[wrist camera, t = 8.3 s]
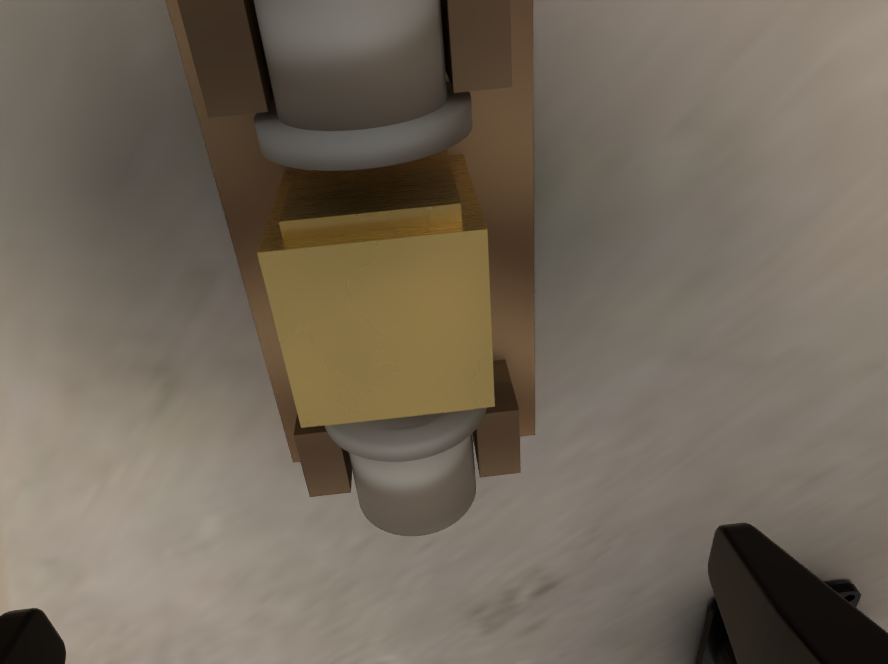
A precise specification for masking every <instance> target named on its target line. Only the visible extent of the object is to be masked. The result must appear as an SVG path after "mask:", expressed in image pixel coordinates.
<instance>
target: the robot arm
mask: <svg viewBox="0 0 888 664" xmlns="http://www.w3.org/2000/svg"><path fill="white" fill-rule="evenodd" d="M708 574H709V579H710V582H711V586H712V589H713V592H714V595H715V598H716V601H714V602H713V603H711V605H710V607H709V610H708V615H707V619H706V624H705V628H704V633H703V637H702V641H701V646H700V650H699V655H698V659H697V663H696V664H888V633H887V632H886V631H885V630H883V629H882V628H881V627H880V626H878V625H877V624H876V623H875V622H873V621H872V620H871V619H869V618H868V617H867V616H866V615H864V614H863V613H862V612H861V611H859V610H858V609H857V608H856V606H857V604H858V602H859V599H860V597H861V594H860V593H859V591H858V590H857V588H856V587H855V585H854V584H851V583H845V584H837V585H829V586H828V585H827V584H825V583H824V582H823V581H822V580H820V579H819V578H818V577H817V576H815V575H814V574H813V573H812V572H810V571H809V570H808V569H807V568H805V567H804V566H803V565H802V564H800V563H799V562H798V561H797V560H795V559H794V558H793V557H792V556H790V555H789V554H788V553H786V552H785V551H784V550H783V549H781V548H780V547H779V546H778V545H776V544H775V543H774V542H773V541H771V540H770V539H769V538H768V537H766V536H765V535H764V534H763V533H761V532H760V531H759V530H758V529H756V528H755V527H754V526H752V525H750V524H747V523H737V524H728V525H721V526H719V527H718V528H717V529H716V531H715V534H714V538H713V543H712V548H711V552H710V557H709V562H708ZM65 659H66V650H65V645H64V642H63V640H62V639H61V637H60V636H59V634H58V633H57V631H56V630H55V628H54V627H53V625H52V624H51V622H50V621H49V619H48V618H47V616H46V615H45V613H44V612H43V611H42V610H40V609H37V608H31V609H22V610H14V611H10V612H7V613H4V614H3V615H1V616H0V664H65Z"/></svg>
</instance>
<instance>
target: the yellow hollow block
mask: <svg viewBox="0 0 888 664" xmlns="http://www.w3.org/2000/svg"><path fill="white" fill-rule="evenodd" d="M257 255H258V259H259V263H260V267H261V271H262V275H263V278H264V282H265V286H266V290H267V294H268V298H269V302H270V306H271V310H272V314H273V318H274V322H275V326H276V330H277V334H278V338H279V342H280V346H281V350H282V354H283V358H284V362H285V366H286V370H287V374H288V378H289V382H290V386H291V390H292V394H293V398H294V402H295V406H296V410H297V414H298V418H299V422H300V426H301V428H304V427H314V426H323V425H325V426H329V425H338V424H347V423H356V422H365V421H374V420H383V419H393V418H402V417H411V416H420V415H429V414H438V413H447V412H456V411H465V410H474V409H477V408H486V407H495V399H494V375H493V351H492V327H491V303H490V279H489V256H488V232H487V226H486V223H485V220H484V217H483V214H482V211H481V208H480V205H479V202H478V198H477V195H476V192H475V189H474V186H473V183H472V180H471V177H470V174H469V171H468V167H467V164H466V161H465V158H464V155H463V154H462V155H452V156H448V153H447V149H446V150H444V151H441V152H439V153H436V154H433V155H430V156H427V157H424V158H421V159H417V160H413V161H409V162H405V163H400V164H395V165H390V166H384V167H377V168H369V169H359V170H342V171H319V170H305V169H298V168H295V170H294V171H291V172H284V174H283V177H282V180H281V183H280V186H279V189H278V192H277V195H276V198H275V201H274V204H273V207H272V210H271V213H270V216H269V219H268V221H267V224H266V227H265V230H264V233H263V236H262V239H261V242H260V245H259V248H258V251H257Z"/></svg>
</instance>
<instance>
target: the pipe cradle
mask: <svg viewBox="0 0 888 664" xmlns="http://www.w3.org/2000/svg"><path fill="white" fill-rule="evenodd" d="M166 3H167V7H168V10H169V14H170V18H171V21H172V25H173V28H174V32H175V36H176V39H177V43H178V47H179V50H180V54H181V57H182V61H183V65H184V68H185V72H186V76H187V79H188V83H189V86H190V90H191V94H192V97H193V101H194V105H195V108H196V112H197V115H198V119H199V123H200V126H201V130H202V134H203V137H204V141H205V144H206V148H207V152H208V155H209V159H210V163H211V166H212V170H213V173H214V177H215V181H216V184H217V188H218V192H219V195H220V199H221V202H222V206H223V210H224V213H225V217H226V221H227V224H228V228H229V231H230V235H231V239H232V242H233V246H234V250H235V253H236V257H237V260H238V264H239V268H240V271H241V275H242V279H243V282H244V286H245V289H246V293H247V297H248V300H249V304H250V308H251V311H252V315H253V318H254V322H255V326H256V329H257V333H258V337H259V340H260V344H261V347H262V351H263V355H264V358H265V362H266V365H267V369H268V373H269V376H270V380H271V384H272V387H273V391H274V394H275V398H276V402H277V405H278V409H279V413H280V416H281V420H282V423H283V427H284V431H285V434H286V438H287V442H288V445H289V449H290V452H291V456H292V460H293V462H301V465H302V469H303V473H304V477H305V480H306V484H307V488H308V492H309V495H310V497H314V496H323V495H332V494H340V493H349V492H351V480H352V470H353V474H354V479H355V484H356V489H357V493H358V498H359V503H360V507H361V509H362V511H363V513H364V515H365V516H366V518H367V519H368V520H369V521H370V522H371V523H372V524H374V525H375V526H376V527H378V528H380V529H382V530H384V531H386V532H389V533H392V534H396V535H402V536H421V535H427V534H431V533H435V532H438V531H440V530H443V529H445V528H447V527H449V526H451V525H452V524H454V523H455V522H457V521H458V520H459V519H460V518H461V517H462V516H463V515H464V514H465V513H466V512H467V511H468V509H469V508H470V506H471V504H472V502H473V500H474V497H475V493H476V481H475V467H474V454H473V442H474V446H475V451H476V457H477V463H478V469H479V474H480V477H487V476H496V475H504V474H513V473H520V436H529V435H535V316H534V115H533V0H166ZM446 149H447V153H448V156H452V155H462V154H463V155H464V158H465V161H466V164H467V167H468V171H469V174H470V177H471V180H472V183H473V186H474V189H475V192H476V195H477V198H478V202H479V205H480V208H481V211H482V214H483V217H484V220H485V223H486V226H487V232H488V256H489V279H490V303H491V327H492V351H493V375H494V399H495V407H486V408H477V409H474V410H465V411H456V412H447V413H438V414H429V415H420V416H411V417H402V418H393V419H383V420H374V421H365V422H356V423H347V424H338V425H329V426H325V425H323V426H314V427H304V428H301V426H300V422H299V418H298V414H297V410H296V406H295V402H294V398H293V394H292V390H291V386H290V382H289V378H288V374H287V370H286V366H285V362H284V358H283V354H282V350H281V346H280V342H279V338H278V334H277V330H276V326H275V322H274V318H273V314H272V310H271V306H270V302H269V298H268V294H267V290H266V286H265V282H264V278H263V275H262V271H261V267H260V263H259V259H258V255H257V251H258V248H259V245H260V242H261V239H262V236H263V233H264V230H265V227H266V224H267V221H268V219H269V216H270V213H271V210H272V207H273V204H274V201H275V198H276V195H277V192H278V189H279V186H280V183H281V180H282V177H283V174H284V172H291V171H294V170H295V168H298V169H305V170H319V171H342V170H359V169H369V168H377V167H384V166H390V165H395V164H400V163H405V162H409V161H413V160H417V159H421V158H424V157H427V156H430V155H433V154H436V153H439V152H441V151H444V150H446Z"/></svg>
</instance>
